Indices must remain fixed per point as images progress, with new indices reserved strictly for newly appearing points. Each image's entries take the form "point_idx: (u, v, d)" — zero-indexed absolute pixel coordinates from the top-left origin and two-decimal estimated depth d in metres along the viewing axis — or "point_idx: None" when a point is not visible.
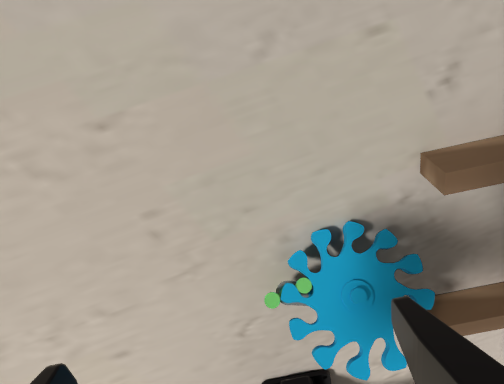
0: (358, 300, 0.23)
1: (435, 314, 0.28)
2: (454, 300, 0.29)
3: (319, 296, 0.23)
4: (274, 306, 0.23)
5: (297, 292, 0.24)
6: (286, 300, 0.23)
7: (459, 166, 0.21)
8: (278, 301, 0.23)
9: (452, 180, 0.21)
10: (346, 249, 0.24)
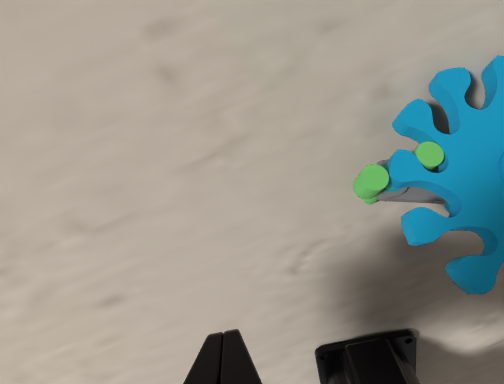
0: None
1: None
2: None
3: (459, 171, 0.13)
4: (379, 187, 0.13)
5: (418, 164, 0.13)
6: (400, 177, 0.13)
7: None
8: (386, 179, 0.13)
9: None
10: (499, 97, 0.14)
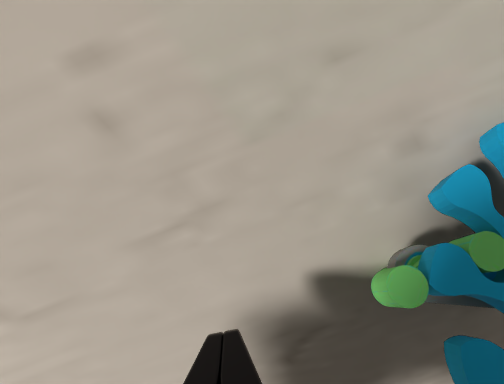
0: None
1: None
2: None
3: None
4: (414, 303, 0.09)
5: (473, 268, 0.09)
6: (446, 287, 0.09)
7: None
8: (424, 290, 0.09)
9: None
10: None
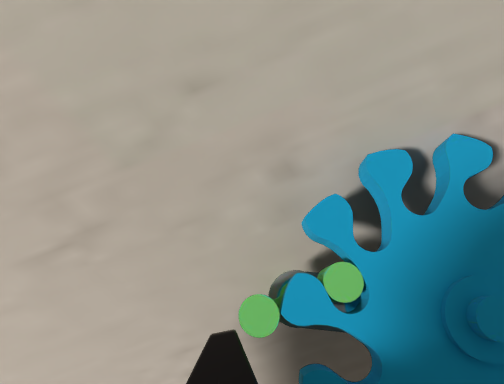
0: (497, 330, 0.08)
1: None
2: None
3: (383, 312, 0.09)
4: (263, 332, 0.09)
5: (325, 298, 0.09)
6: (296, 317, 0.09)
7: None
8: (275, 319, 0.09)
9: None
10: (451, 197, 0.10)
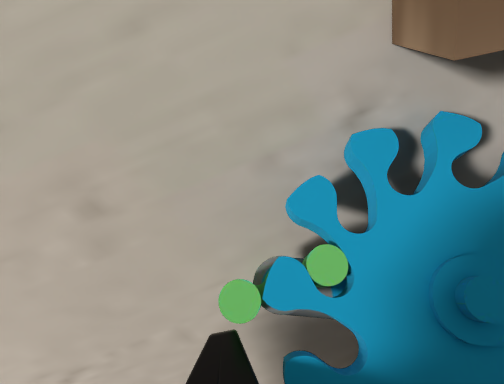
0: (486, 311, 0.08)
1: None
2: None
3: (368, 295, 0.09)
4: (244, 318, 0.09)
5: (308, 282, 0.09)
6: (278, 302, 0.09)
7: None
8: (256, 304, 0.09)
9: (481, 2, 0.06)
10: (439, 176, 0.09)
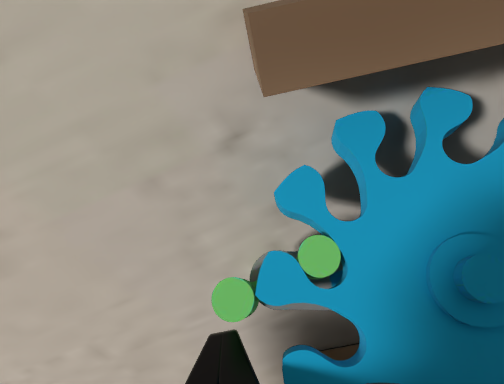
0: (487, 291, 0.07)
1: None
2: None
3: (363, 284, 0.08)
4: (238, 316, 0.08)
5: (301, 275, 0.09)
6: (271, 297, 0.08)
7: (299, 0, 0.07)
8: (249, 302, 0.08)
9: (276, 42, 0.06)
10: (429, 155, 0.09)
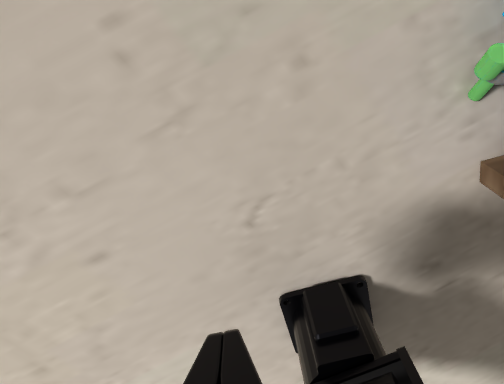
0: None
1: None
2: None
3: None
4: None
5: None
6: None
7: None
8: None
9: None
10: None
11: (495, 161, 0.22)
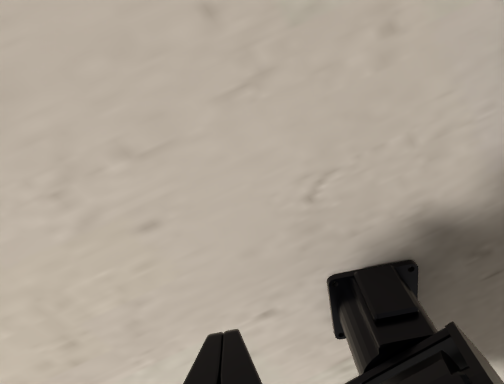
0: None
1: None
2: None
3: None
4: None
5: None
6: None
7: None
8: None
9: None
10: None
11: None
